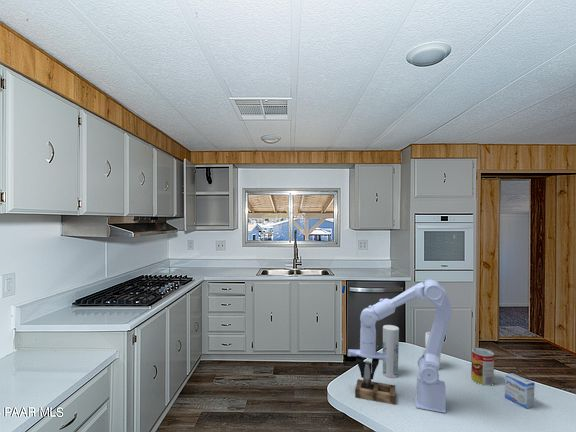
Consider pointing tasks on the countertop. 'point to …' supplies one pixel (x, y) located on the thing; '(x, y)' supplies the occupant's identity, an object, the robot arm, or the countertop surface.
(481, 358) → the canned food
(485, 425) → the countertop surface
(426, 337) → the drinking glass
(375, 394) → the hole block
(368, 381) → the peg
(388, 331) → the spray can
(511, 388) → the medicine box
